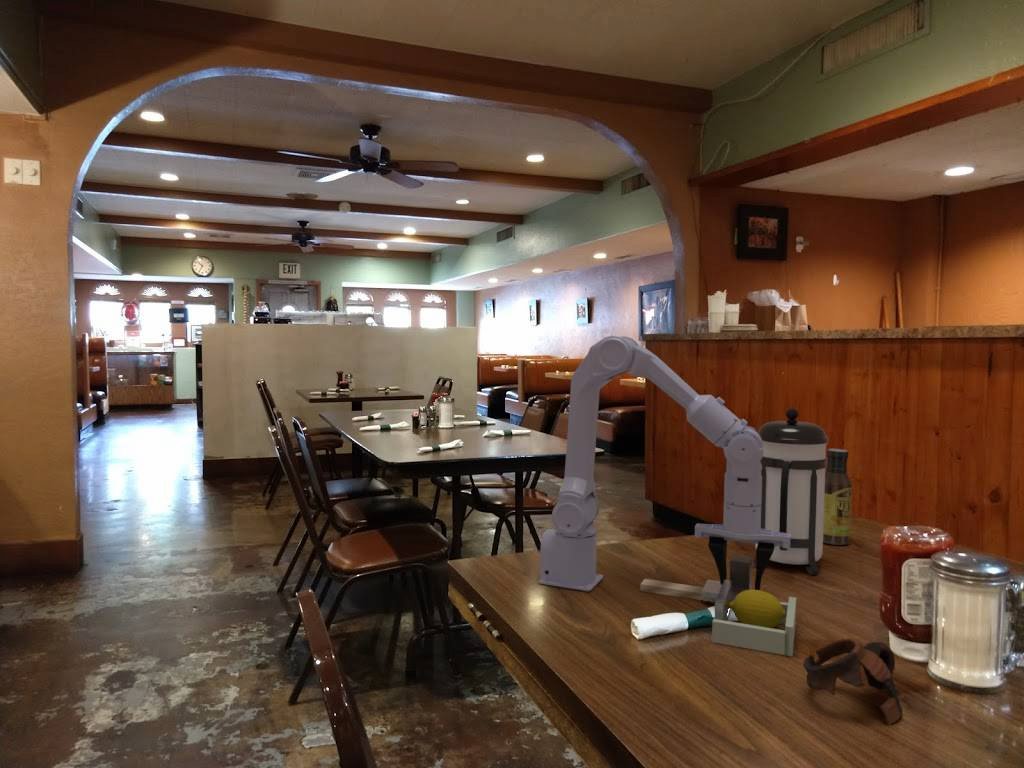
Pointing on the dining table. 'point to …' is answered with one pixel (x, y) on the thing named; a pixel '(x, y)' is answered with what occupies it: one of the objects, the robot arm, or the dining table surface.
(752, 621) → the lemon
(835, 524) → the sauce bottle
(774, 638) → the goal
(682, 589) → the rail
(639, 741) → the dining table surface
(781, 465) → the coffee press
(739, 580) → the slider
